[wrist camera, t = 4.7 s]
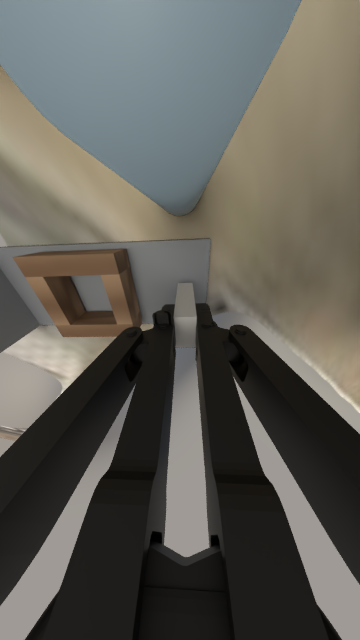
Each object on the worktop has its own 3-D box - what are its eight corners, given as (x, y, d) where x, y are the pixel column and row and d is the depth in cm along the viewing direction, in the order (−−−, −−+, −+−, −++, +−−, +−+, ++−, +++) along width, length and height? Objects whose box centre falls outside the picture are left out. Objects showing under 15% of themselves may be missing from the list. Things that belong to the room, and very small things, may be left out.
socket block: (41, 251, 15) (12, 257, 12) (125, 248, 14) (113, 253, 12) (78, 322, 20) (62, 336, 17) (142, 321, 19) (135, 336, 17)
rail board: (-24, 247, 16) (-205, 267, 9) (209, 238, 15) (233, 251, 7) (31, 321, 22) (-51, 372, 14) (204, 319, 20) (214, 373, 13)
